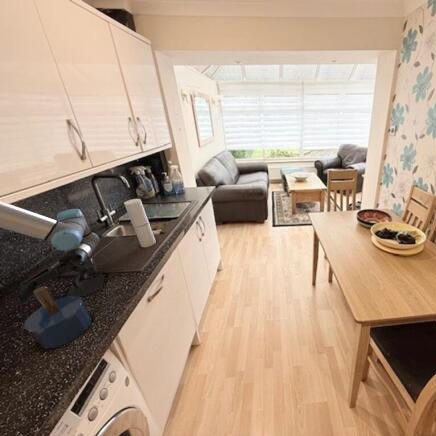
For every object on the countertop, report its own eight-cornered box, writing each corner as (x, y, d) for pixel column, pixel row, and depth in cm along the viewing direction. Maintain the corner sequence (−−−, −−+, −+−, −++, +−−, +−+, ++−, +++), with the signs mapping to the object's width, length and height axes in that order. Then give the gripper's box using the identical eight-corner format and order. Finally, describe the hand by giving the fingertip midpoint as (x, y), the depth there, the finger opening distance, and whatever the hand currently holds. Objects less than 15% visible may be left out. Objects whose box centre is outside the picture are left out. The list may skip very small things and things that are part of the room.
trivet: (65, 303, 91) (64, 302, 91) (71, 285, 100) (70, 284, 100) (102, 290, 96) (102, 289, 96) (105, 274, 106) (105, 273, 105)
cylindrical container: (139, 249, 124) (121, 205, 113) (144, 242, 130) (127, 199, 120) (153, 246, 125) (137, 202, 114) (157, 240, 132) (142, 198, 121)
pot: (36, 357, 71) (20, 337, 67) (48, 327, 81) (35, 309, 77) (88, 336, 76) (76, 316, 73) (94, 310, 86) (83, 293, 83)
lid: (19, 341, 67) (-3, 314, 62) (34, 310, 77) (17, 285, 73) (79, 318, 73) (63, 293, 68) (86, 292, 84) (72, 269, 79)
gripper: (116, 256, 97) (101, 289, 79) (40, 273, 90) (4, 314, 72) (109, 240, 94) (91, 270, 76) (30, 257, 87) (-12, 295, 69)
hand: (49, 292), depth 74 cm, fingers open, 13 cm apart
